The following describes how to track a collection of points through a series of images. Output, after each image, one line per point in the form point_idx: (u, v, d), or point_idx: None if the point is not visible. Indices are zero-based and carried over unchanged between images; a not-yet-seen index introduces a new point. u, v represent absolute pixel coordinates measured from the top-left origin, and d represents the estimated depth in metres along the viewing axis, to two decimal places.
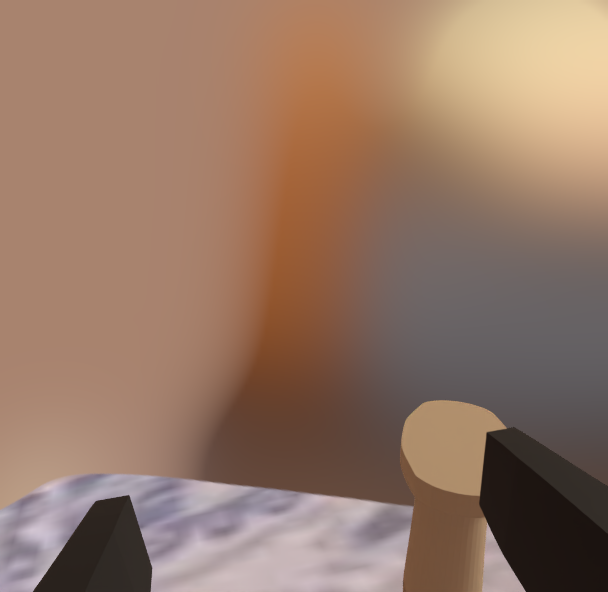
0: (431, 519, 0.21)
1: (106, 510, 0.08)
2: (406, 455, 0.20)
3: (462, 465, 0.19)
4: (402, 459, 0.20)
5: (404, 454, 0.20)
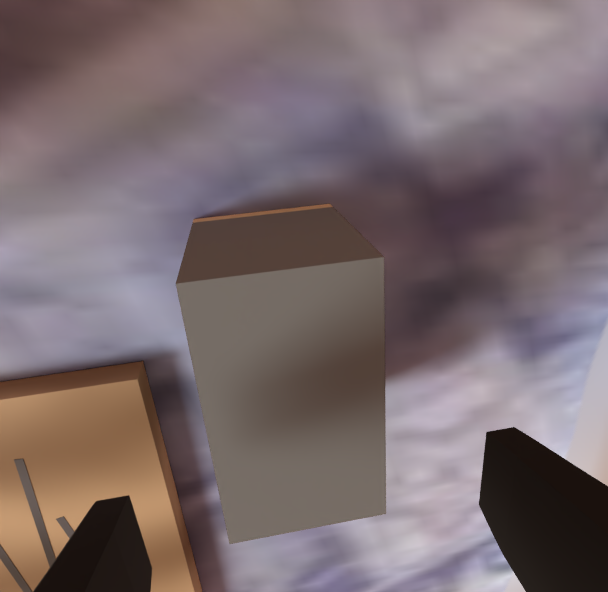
0: None
1: (107, 510, 0.08)
2: None
3: None
4: None
5: None
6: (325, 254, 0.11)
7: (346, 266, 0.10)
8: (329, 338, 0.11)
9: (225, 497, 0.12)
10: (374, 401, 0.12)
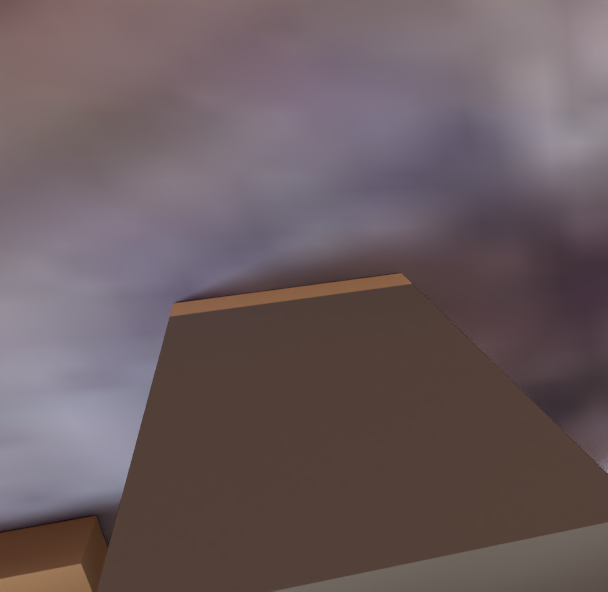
0: None
1: None
2: None
3: None
4: None
5: None
6: (473, 478, 0.04)
7: (552, 543, 0.04)
8: None
9: None
10: None
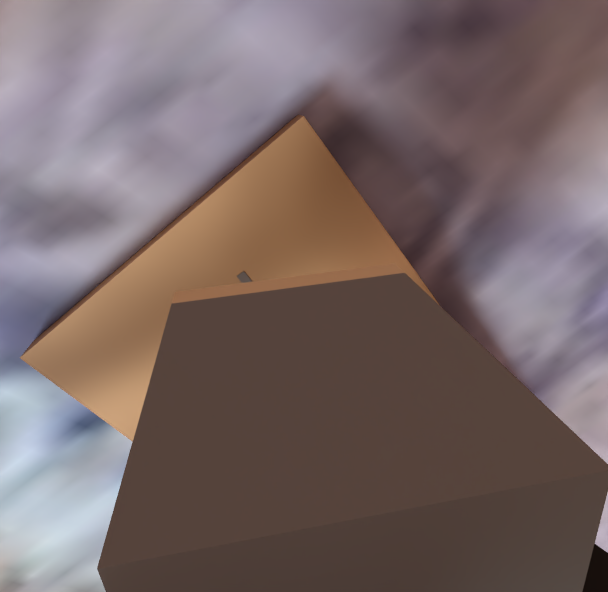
0: None
1: None
2: None
3: None
4: None
5: None
6: (454, 441, 0.05)
7: (523, 495, 0.04)
8: None
9: None
10: None
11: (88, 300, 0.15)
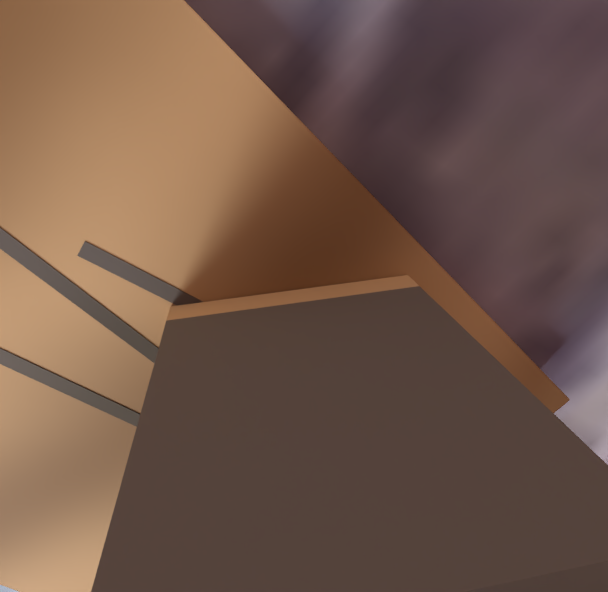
0: None
1: None
2: None
3: None
4: None
5: None
6: (493, 500, 0.04)
7: (583, 575, 0.03)
8: None
9: None
10: None
11: None
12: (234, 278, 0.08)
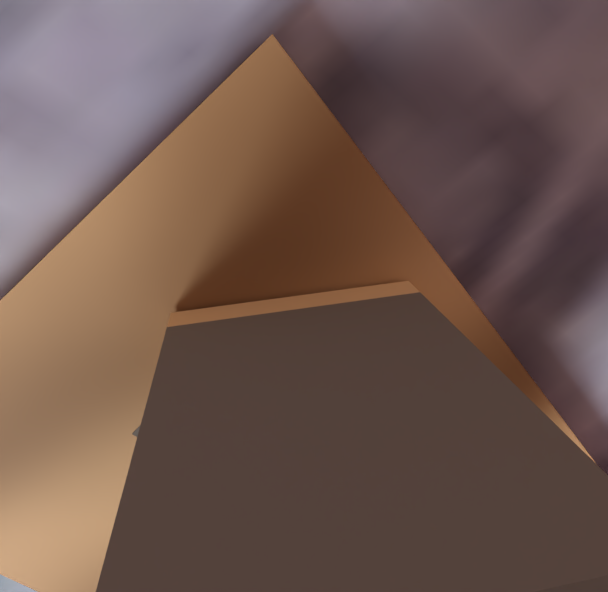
0: None
1: None
2: None
3: None
4: None
5: None
6: (495, 512, 0.04)
7: (586, 590, 0.03)
8: None
9: None
10: None
11: None
12: None
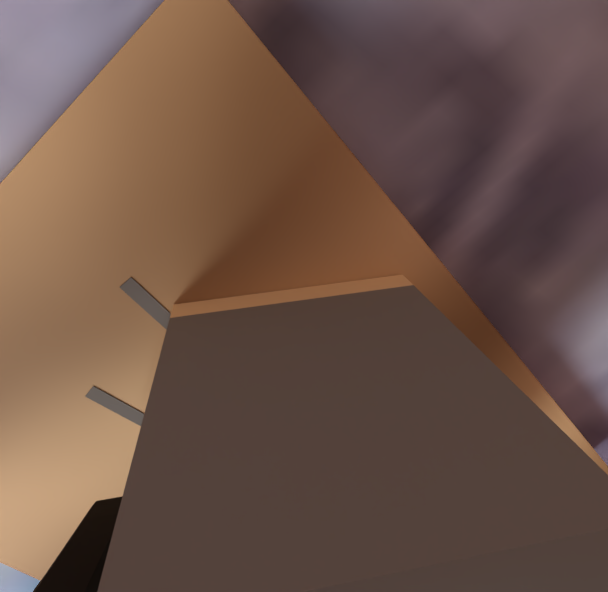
0: None
1: (107, 510, 0.08)
2: None
3: None
4: None
5: None
6: (476, 482, 0.04)
7: (556, 549, 0.04)
8: None
9: None
10: None
11: None
12: None
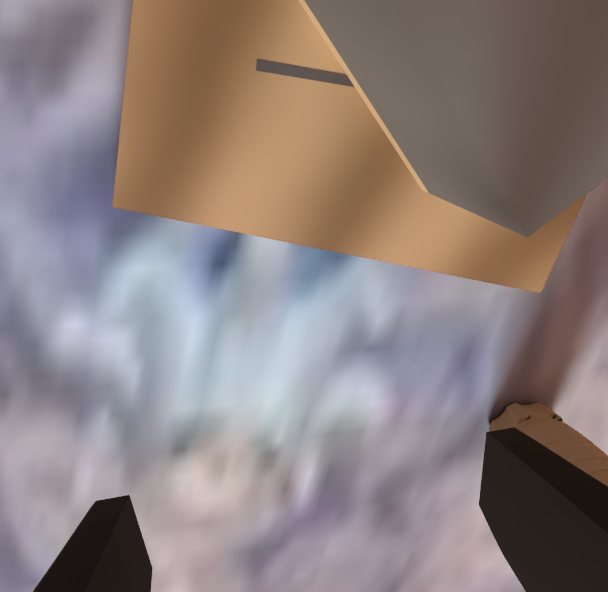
0: None
1: (106, 510, 0.08)
2: None
3: None
4: None
5: None
6: None
7: None
8: None
9: (497, 169, 0.09)
10: None
11: (123, 102, 0.13)
12: None
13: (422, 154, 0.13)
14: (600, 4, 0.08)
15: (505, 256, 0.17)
